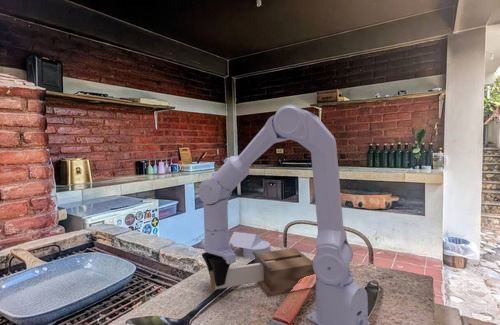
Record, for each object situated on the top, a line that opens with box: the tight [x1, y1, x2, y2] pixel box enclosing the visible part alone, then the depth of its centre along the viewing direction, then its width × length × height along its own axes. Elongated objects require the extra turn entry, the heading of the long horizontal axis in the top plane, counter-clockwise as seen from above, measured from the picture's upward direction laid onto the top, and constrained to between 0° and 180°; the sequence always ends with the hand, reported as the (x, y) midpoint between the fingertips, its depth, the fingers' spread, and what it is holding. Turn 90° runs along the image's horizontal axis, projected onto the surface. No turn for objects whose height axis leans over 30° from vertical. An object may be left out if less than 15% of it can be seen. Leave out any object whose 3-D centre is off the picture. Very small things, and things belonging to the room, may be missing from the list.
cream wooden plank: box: [209, 261, 272, 291], centre depth 71 cm, size 17×1×4 cm, turn 108°
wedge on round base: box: [229, 231, 271, 260], centre depth 95 cm, size 9×7×13 cm
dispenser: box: [253, 247, 316, 298], centre depth 74 cm, size 13×12×7 cm
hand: (218, 283), depth 69 cm, fingers closed on cream wooden plank, 2 cm apart
